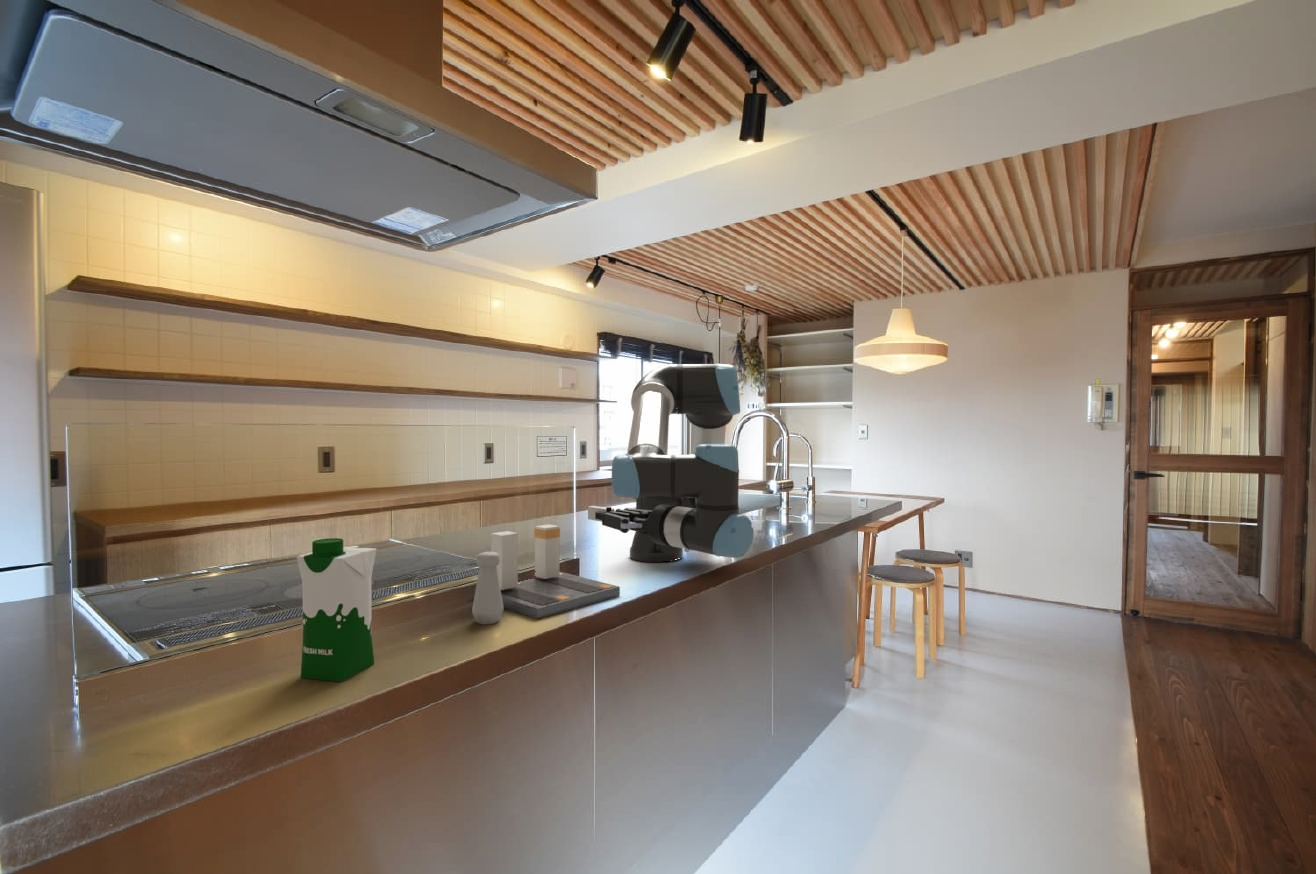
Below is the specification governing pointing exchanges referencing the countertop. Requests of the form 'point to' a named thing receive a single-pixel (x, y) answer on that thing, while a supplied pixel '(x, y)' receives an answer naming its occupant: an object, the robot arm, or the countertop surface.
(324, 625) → the milk carton
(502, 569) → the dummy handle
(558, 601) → the panel
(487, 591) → the salt shaker
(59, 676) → the countertop surface
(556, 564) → the handle
